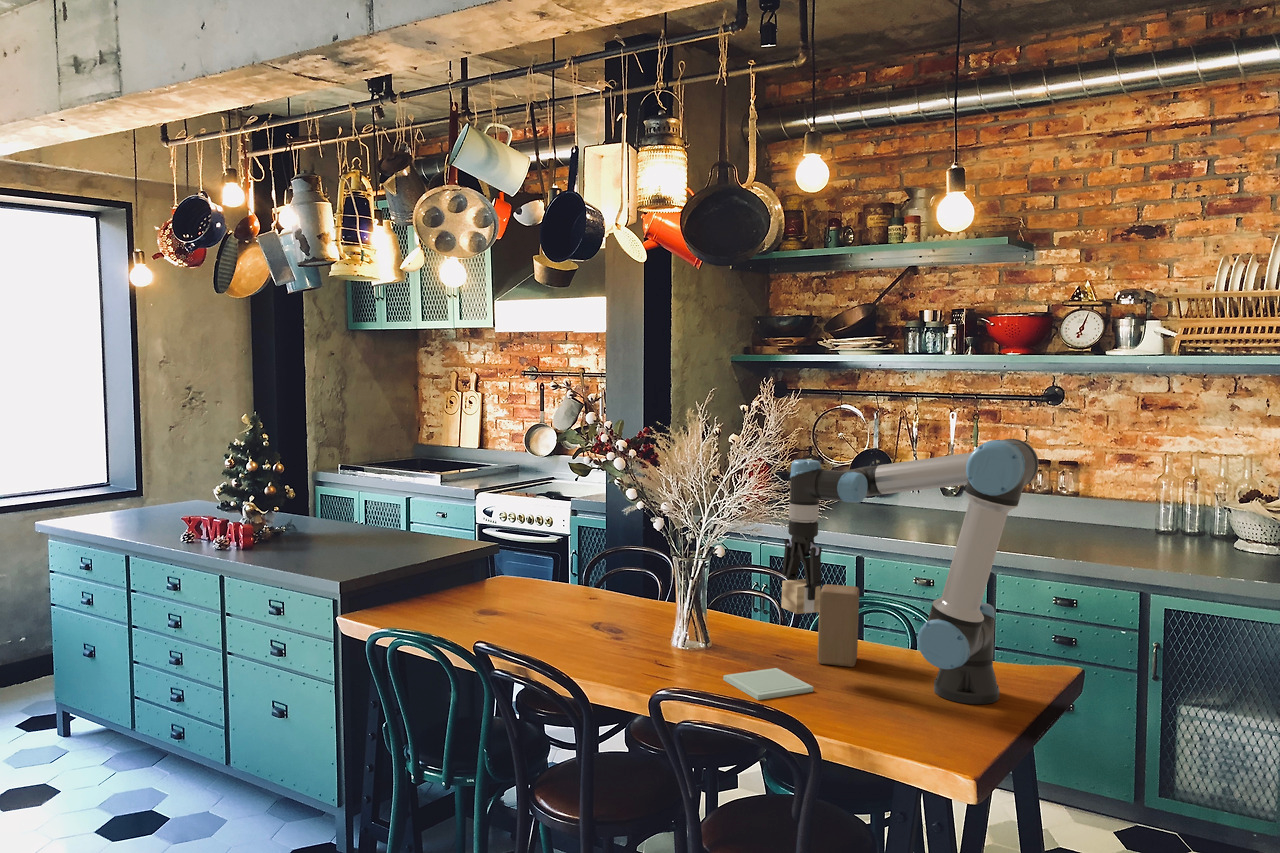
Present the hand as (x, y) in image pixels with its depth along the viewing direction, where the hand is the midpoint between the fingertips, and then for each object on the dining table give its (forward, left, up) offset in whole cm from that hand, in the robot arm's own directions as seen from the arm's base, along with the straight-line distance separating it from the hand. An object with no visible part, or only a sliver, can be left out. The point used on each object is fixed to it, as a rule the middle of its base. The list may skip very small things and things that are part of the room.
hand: (800, 608), depth 242 cm
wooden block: (+6, -17, -18) cm, 25 cm away
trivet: (-4, +12, -17) cm, 22 cm away
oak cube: (0, 0, 0) cm, 0 cm away
